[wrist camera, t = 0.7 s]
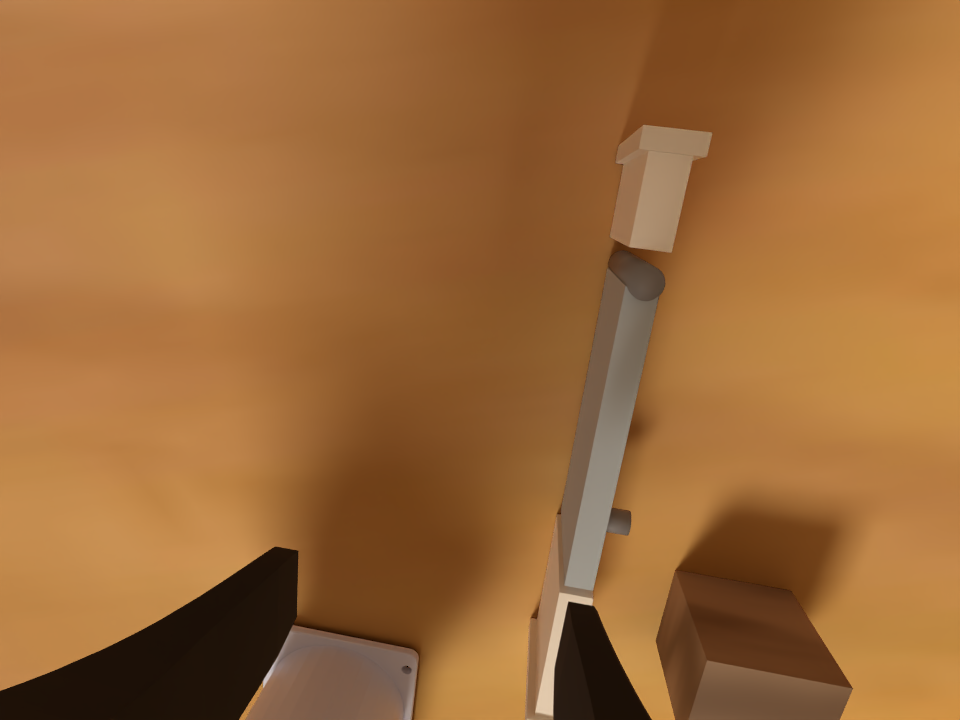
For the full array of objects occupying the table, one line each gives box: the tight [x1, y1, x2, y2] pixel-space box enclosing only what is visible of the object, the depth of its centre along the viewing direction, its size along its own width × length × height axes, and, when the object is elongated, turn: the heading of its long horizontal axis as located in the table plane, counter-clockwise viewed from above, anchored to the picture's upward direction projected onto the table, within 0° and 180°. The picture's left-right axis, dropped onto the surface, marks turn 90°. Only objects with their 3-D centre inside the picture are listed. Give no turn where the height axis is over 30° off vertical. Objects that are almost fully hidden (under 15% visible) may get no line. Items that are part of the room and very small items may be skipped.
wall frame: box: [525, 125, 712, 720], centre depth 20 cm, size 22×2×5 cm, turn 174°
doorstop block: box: [656, 570, 853, 720], centre depth 22 cm, size 4×5×5 cm
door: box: [561, 250, 665, 591], centre depth 19 cm, size 11×2×5 cm, turn 174°
